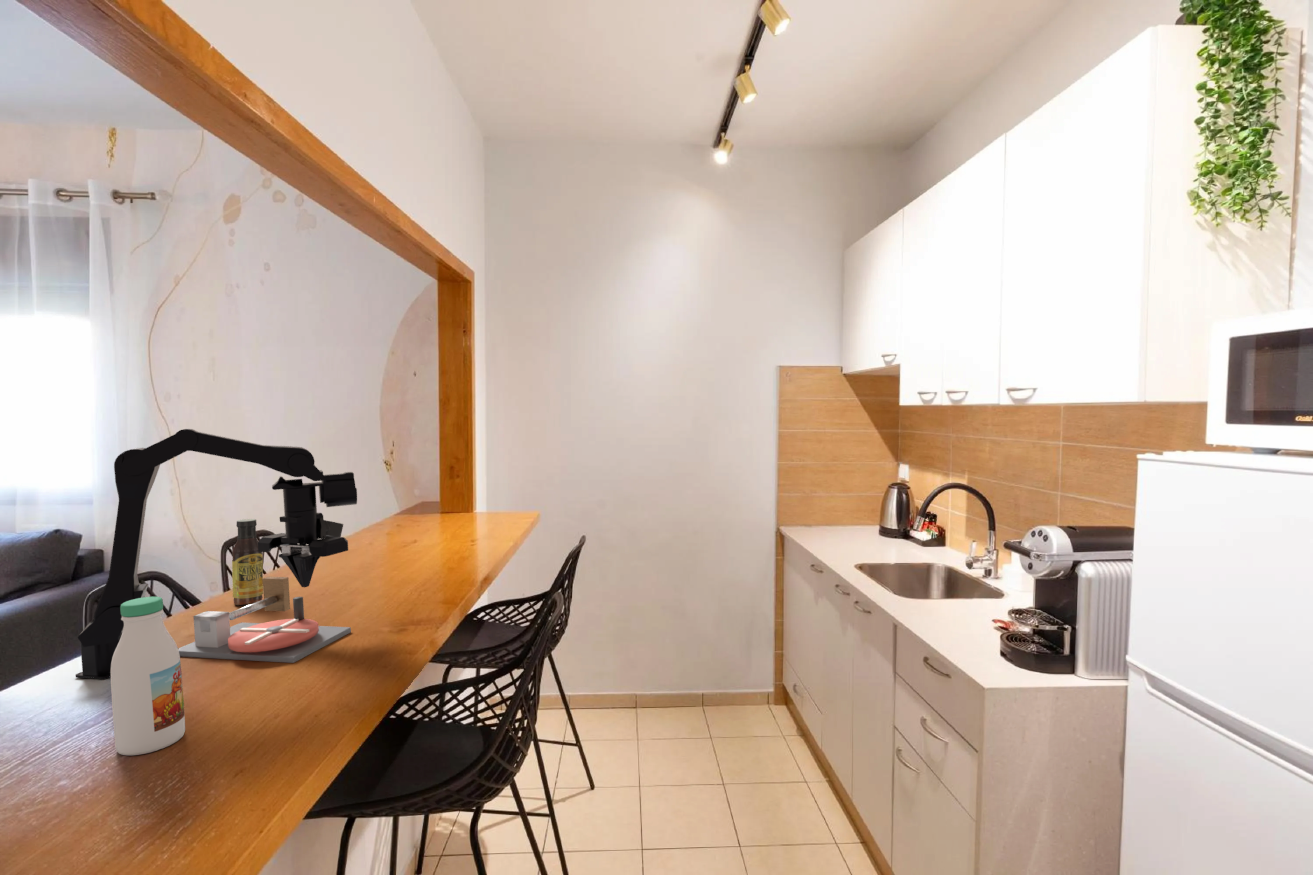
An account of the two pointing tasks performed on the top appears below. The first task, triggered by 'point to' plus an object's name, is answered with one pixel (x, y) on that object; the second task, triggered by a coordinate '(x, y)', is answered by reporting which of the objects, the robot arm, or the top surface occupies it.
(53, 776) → the top surface
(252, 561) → the sauce bottle
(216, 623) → the mounting plate
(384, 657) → the top surface
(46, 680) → the top surface
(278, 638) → the handwheel
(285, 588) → the locking pin
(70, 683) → the top surface
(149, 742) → the milk bottle
